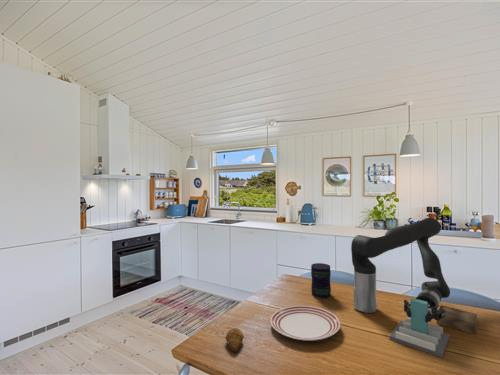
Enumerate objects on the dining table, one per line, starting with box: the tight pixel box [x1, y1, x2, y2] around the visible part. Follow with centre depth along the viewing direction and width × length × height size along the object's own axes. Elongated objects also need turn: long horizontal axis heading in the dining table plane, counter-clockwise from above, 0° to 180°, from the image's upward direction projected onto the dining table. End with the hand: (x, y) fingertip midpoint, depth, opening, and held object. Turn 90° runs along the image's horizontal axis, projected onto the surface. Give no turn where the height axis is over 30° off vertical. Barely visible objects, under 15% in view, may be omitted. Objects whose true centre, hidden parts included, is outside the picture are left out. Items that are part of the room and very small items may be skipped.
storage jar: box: [310, 262, 332, 299], centre depth 140 cm, size 10×10×15 cm
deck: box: [436, 304, 478, 335], centre depth 109 cm, size 12×10×4 cm
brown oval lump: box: [225, 327, 245, 354], centre depth 99 cm, size 14×7×5 cm, turn 2°
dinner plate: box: [270, 305, 341, 342], centre depth 109 cm, size 27×27×3 cm
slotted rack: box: [389, 316, 451, 358], centre depth 99 cm, size 16×15×3 cm
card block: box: [410, 297, 429, 335], centre depth 99 cm, size 5×2×12 cm, turn 46°
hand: (417, 317), depth 97 cm, fingers closed on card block, 5 cm apart
